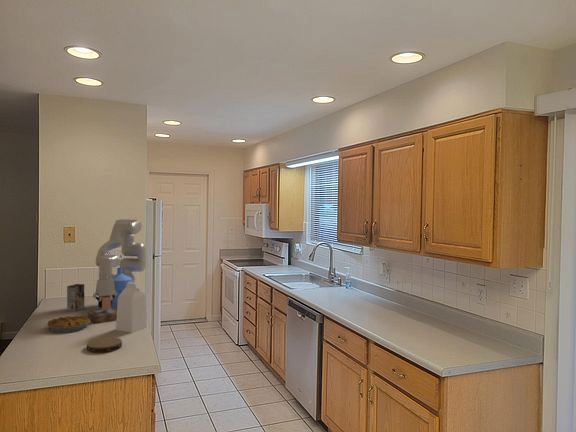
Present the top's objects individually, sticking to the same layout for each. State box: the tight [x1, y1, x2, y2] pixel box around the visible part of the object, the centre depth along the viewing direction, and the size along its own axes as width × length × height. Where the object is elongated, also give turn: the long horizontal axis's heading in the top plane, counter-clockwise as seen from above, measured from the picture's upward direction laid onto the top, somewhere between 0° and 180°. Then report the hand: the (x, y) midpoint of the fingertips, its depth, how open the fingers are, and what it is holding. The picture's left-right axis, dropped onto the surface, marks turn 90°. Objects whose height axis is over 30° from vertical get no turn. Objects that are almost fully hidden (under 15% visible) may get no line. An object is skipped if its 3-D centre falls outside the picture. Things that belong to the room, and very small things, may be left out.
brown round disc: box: [86, 336, 123, 354], centre depth 216 cm, size 16×16×3 cm
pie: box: [46, 315, 91, 333], centre depth 248 cm, size 22×22×5 cm
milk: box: [115, 282, 148, 334], centre depth 248 cm, size 12×12×26 cm
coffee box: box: [66, 283, 85, 312], centre depth 288 cm, size 9×6×16 cm
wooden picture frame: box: [87, 308, 117, 324], centre depth 268 cm, size 16×14×4 cm
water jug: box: [110, 267, 132, 309], centre depth 288 cm, size 16×16×28 cm
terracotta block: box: [100, 296, 111, 310], centre depth 267 cm, size 5×5×7 cm
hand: (105, 306), depth 267 cm, fingers closed on terracotta block, 5 cm apart
